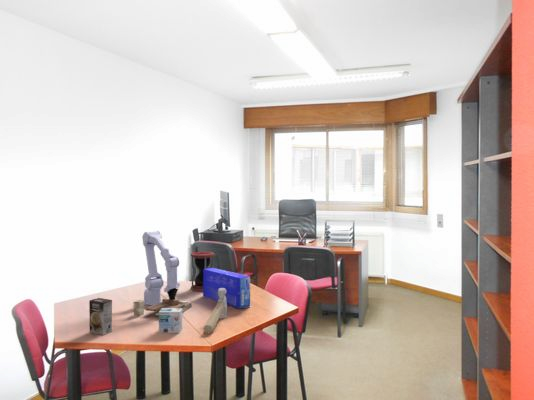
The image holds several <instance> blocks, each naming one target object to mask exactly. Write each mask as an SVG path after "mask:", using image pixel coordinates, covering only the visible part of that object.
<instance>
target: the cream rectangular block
mask: <svg viewBox="0 0 534 400" xmlns="http://www.w3.org/2000/svg"><path fill="white" fill-rule="evenodd" d="M144 314H145V304H144V299H136V300H133V317H142V316H144Z"/></svg>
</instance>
